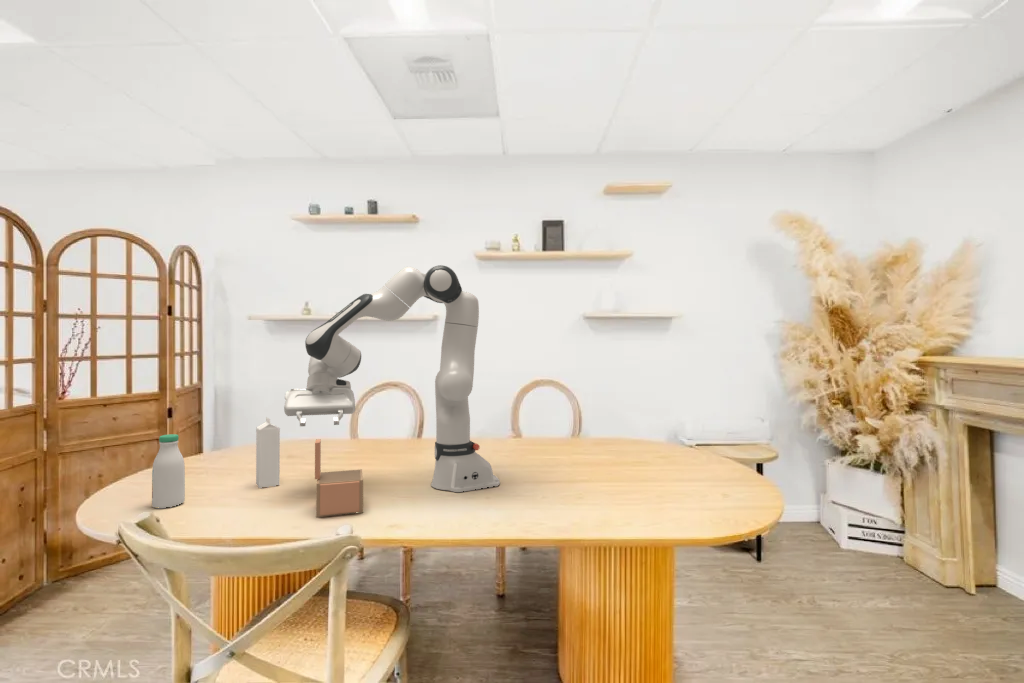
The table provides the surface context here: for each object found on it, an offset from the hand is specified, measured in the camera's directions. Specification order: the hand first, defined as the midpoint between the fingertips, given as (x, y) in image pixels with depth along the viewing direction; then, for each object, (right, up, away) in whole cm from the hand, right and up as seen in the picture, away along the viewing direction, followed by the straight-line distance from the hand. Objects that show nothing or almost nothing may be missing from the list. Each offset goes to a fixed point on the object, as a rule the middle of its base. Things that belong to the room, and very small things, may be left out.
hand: (319, 424), depth 146 cm
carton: (+9, -22, -7) cm, 25 cm away
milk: (-23, -23, +15) cm, 36 cm away
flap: (+3, -13, -9) cm, 16 cm away
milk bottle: (-42, -23, -5) cm, 48 cm away
